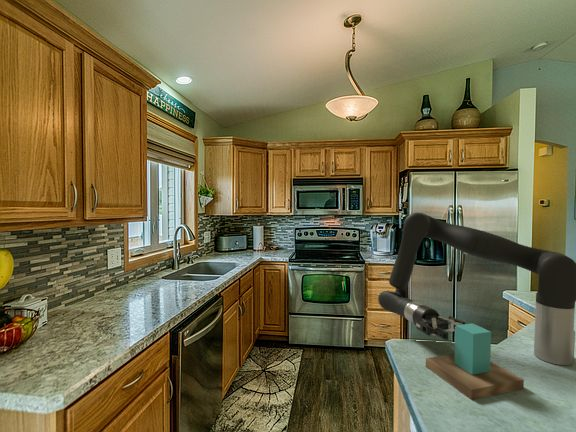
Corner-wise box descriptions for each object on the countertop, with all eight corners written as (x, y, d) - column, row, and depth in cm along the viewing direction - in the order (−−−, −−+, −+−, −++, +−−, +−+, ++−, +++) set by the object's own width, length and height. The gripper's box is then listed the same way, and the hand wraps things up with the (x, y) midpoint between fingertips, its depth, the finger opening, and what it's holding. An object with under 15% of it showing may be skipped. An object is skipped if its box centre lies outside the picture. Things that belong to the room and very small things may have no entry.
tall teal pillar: (471, 360, 89) (472, 323, 89) (489, 371, 83) (491, 331, 83) (454, 363, 87) (455, 325, 87) (472, 374, 82) (473, 334, 81)
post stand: (471, 359, 95) (472, 321, 95) (523, 388, 80) (525, 343, 80) (425, 366, 91) (426, 326, 90) (471, 399, 75) (472, 351, 75)
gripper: (403, 306, 103) (439, 324, 87) (438, 302, 107) (479, 320, 91) (402, 328, 103) (438, 350, 87) (437, 324, 107) (478, 344, 91)
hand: (459, 335), depth 89 cm, fingers open, 8 cm apart
